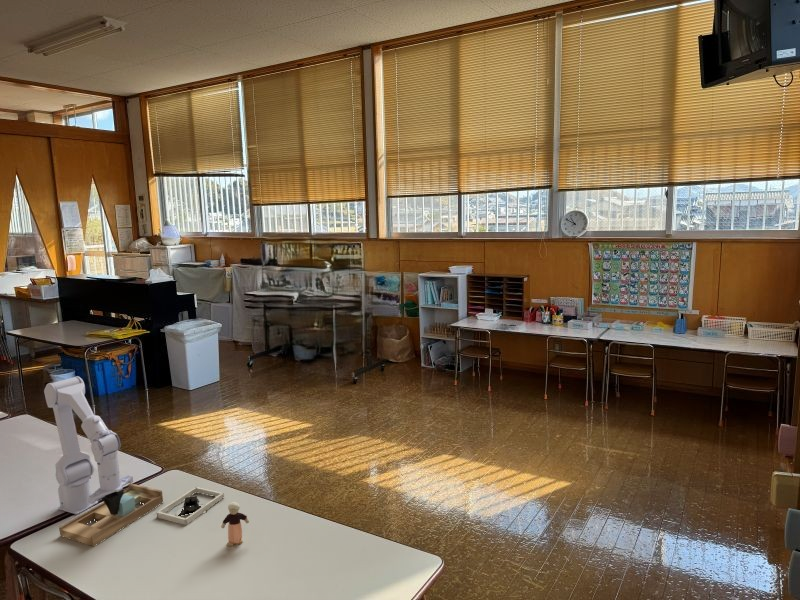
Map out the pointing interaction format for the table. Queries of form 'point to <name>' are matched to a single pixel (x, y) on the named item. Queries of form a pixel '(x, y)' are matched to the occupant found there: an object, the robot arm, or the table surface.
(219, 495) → the frame
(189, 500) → the black angular piece
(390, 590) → the table surface
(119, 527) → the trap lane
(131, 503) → the teal block
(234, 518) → the grandmother figurine
